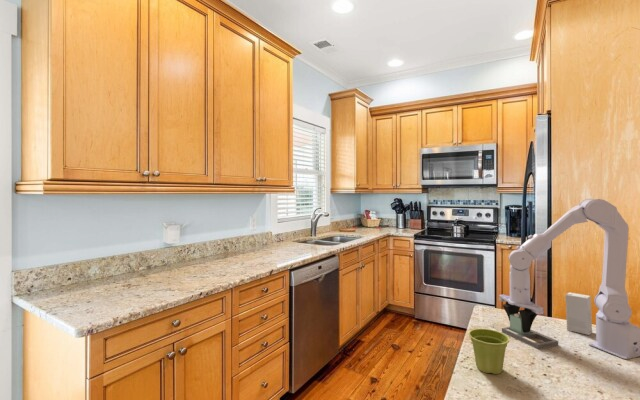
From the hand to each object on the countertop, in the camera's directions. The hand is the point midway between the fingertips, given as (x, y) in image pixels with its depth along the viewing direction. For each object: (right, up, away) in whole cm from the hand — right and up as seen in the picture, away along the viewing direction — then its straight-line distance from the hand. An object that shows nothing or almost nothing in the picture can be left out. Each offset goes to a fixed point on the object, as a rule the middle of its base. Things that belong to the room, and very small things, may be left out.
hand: (520, 329), depth 106 cm
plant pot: (-21, -2, -21) cm, 29 cm away
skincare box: (+20, -2, +2) cm, 21 cm away
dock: (+1, -2, -3) cm, 4 cm away
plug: (0, -2, 0) cm, 2 cm away
